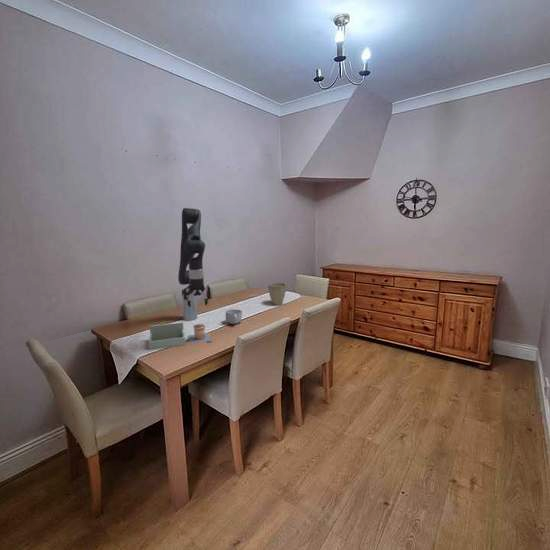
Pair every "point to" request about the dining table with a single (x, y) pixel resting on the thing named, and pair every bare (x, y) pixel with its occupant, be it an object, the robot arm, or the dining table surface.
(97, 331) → the dining table surface
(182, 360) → the dining table surface
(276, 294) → the plant pot
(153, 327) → the cold frame
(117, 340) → the dining table surface
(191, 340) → the slate tile
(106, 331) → the dining table surface
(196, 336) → the pot
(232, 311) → the teacup
